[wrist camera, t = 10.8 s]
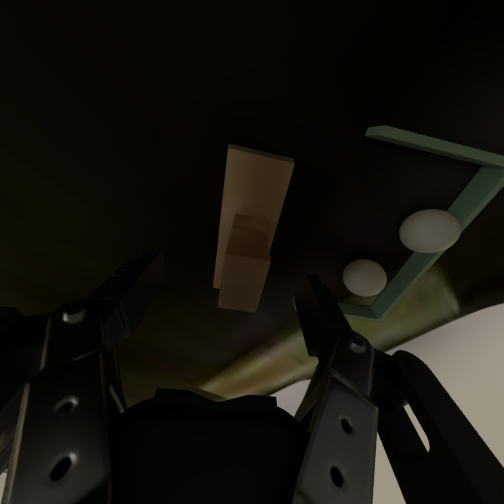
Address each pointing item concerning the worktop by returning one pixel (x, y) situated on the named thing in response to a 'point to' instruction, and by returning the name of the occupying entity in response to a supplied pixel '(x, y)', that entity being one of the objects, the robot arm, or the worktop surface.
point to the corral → (464, 209)
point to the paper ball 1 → (364, 277)
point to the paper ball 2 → (429, 231)
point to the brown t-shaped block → (248, 223)
